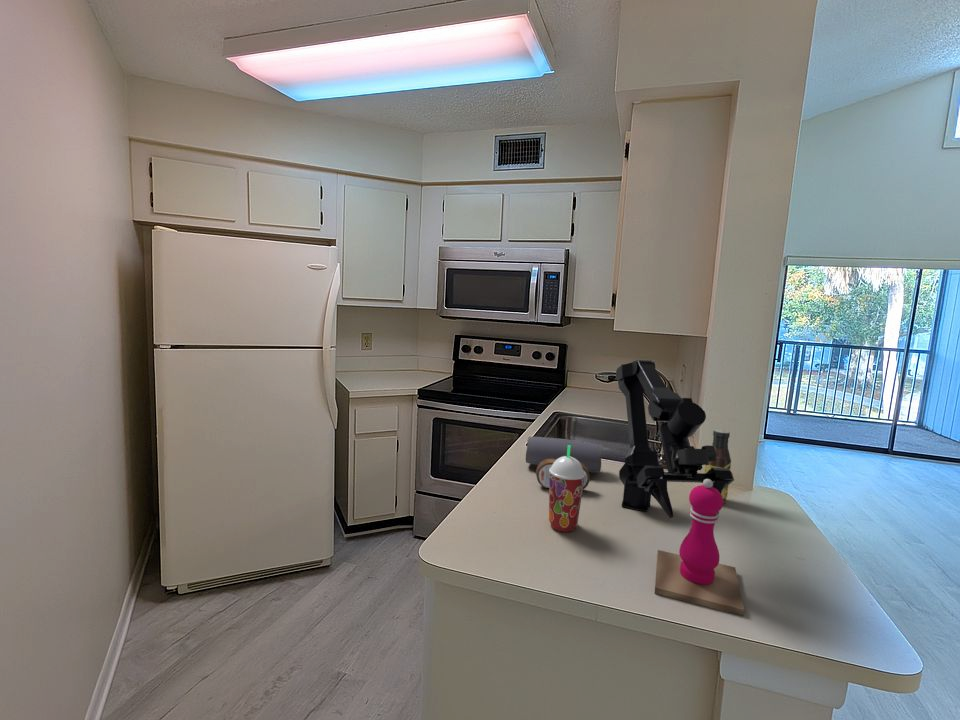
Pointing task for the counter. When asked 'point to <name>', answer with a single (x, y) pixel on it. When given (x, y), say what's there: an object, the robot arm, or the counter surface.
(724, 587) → the walnut board
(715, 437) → the sauce bottle
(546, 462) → the tin
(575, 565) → the counter surface
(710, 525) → the pepper mill
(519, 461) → the counter surface
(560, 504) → the smoothie
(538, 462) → the bluetooth speaker
